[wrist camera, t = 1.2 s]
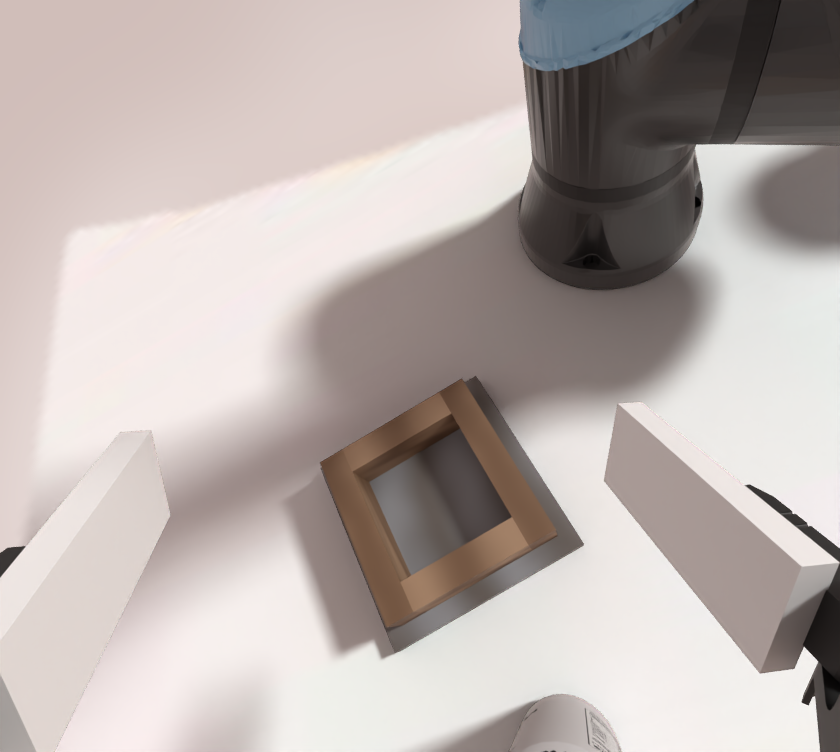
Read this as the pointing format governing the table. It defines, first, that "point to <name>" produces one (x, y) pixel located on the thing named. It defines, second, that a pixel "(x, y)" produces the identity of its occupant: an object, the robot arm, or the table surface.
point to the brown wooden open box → (444, 511)
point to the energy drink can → (564, 727)
